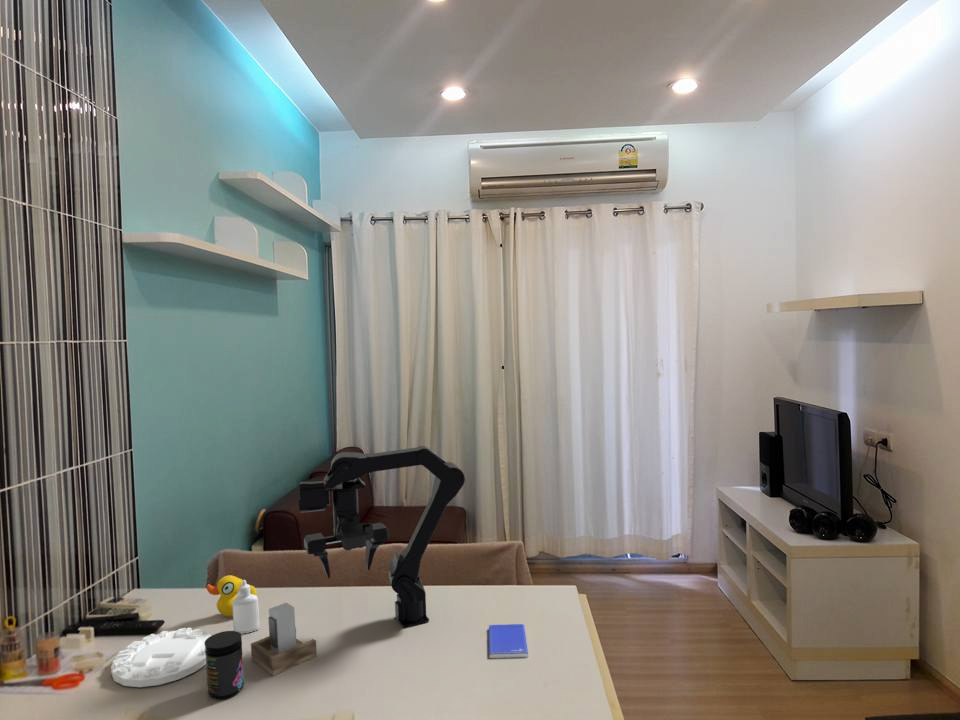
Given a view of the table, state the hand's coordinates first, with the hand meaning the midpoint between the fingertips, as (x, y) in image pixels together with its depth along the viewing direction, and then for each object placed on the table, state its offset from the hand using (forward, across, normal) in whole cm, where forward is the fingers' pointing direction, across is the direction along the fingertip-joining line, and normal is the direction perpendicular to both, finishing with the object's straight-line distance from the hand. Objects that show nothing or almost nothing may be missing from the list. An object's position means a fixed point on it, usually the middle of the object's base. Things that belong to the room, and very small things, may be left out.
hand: (348, 573), depth 146 cm
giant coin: (+14, -39, +5) cm, 42 cm away
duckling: (+13, -24, +21) cm, 35 cm away
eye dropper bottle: (+13, -22, +11) cm, 28 cm away
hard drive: (+14, +29, -23) cm, 40 cm away
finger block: (+12, -16, -6) cm, 21 cm away
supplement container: (+13, -28, -13) cm, 34 cm away
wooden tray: (+13, -16, -6) cm, 21 cm away
